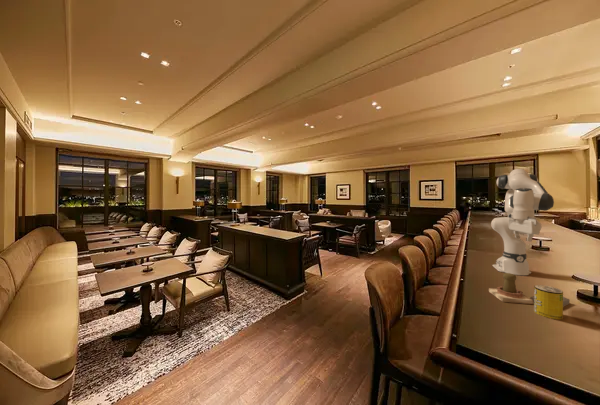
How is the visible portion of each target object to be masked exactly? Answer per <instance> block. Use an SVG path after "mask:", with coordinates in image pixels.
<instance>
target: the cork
mask: <svg viewBox="0 0 600 405" xmlns="http://www.w3.org/2000/svg"><path fill="white" fill-rule="evenodd" d="M502 276H503V277H502V278H503V279H504V281H503V291H505V292H509V293H517V291H516V289H517V287H516V286H517V285H516V280H517V275H515V274H511V273H505V272H503V274H502Z"/></svg>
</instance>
